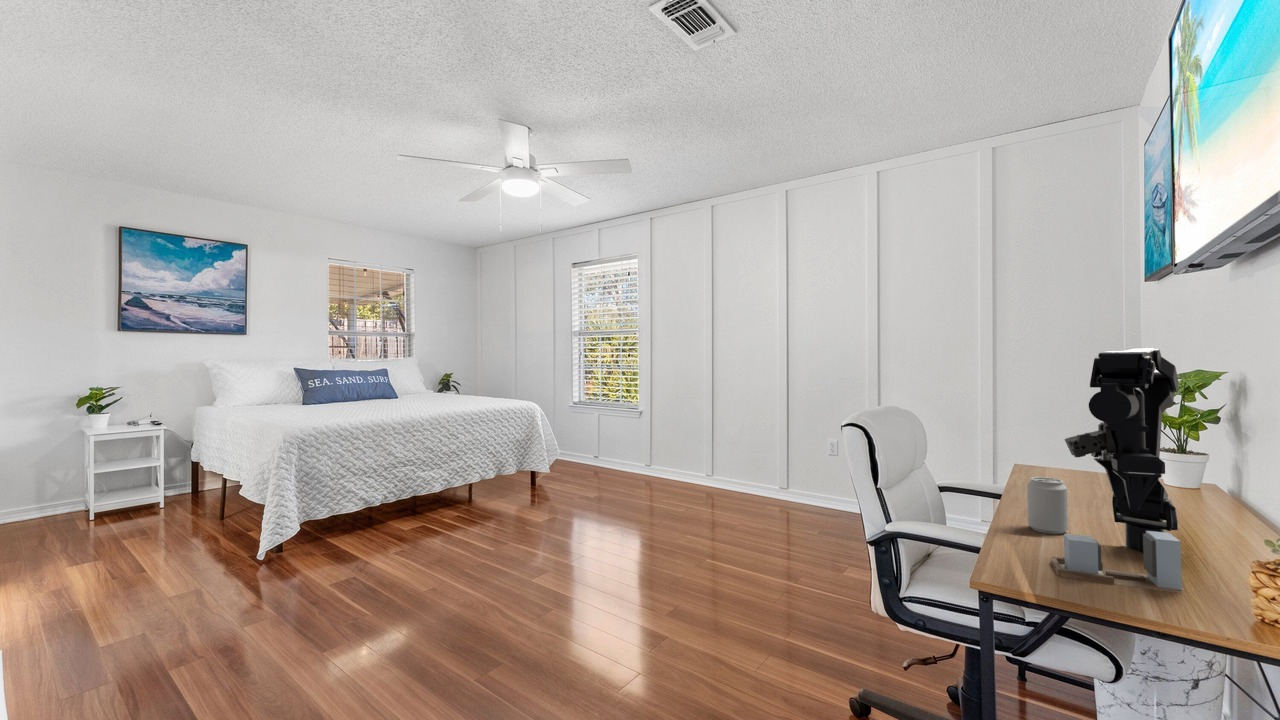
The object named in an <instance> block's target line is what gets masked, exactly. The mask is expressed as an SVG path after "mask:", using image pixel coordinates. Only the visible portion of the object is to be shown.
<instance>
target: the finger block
mask: <svg viewBox="0 0 1280 720" xmlns="http://www.w3.org/2000/svg"><path fill="white" fill-rule="evenodd" d="M1063 541H1064V542H1063V544H1064V545H1063V548H1064V558H1065V567H1066V569H1067V570H1068V571H1075V572H1083V573H1091V574H1098V571H1102V567H1101V563H1102V545H1101V544H1100V543H1099V542H1098V540H1096V539H1095V538H1093V536H1090V535H1083V534H1081V535H1080V534H1071V533H1063ZM1098 575H1099V574H1098Z"/></svg>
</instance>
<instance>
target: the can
mask: <svg viewBox="0 0 1280 720" xmlns="http://www.w3.org/2000/svg"><path fill="white" fill-rule="evenodd" d="M1029 479H1030V481H1028V482H1027V484H1026V492H1027V493H1026V494H1027V495H1026V496H1027V497H1026V498H1027V499H1026V500H1027V502H1026V503H1027V524H1028V526H1029V527H1030V528H1031V529H1032V530H1034V531H1036V532H1039V533H1043V534H1049V535H1064V534H1065V532H1067V531H1068V530H1069V511H1068V510H1069V509H1068V507H1069V504H1068V503H1069V502H1068V487H1067V486H1066V485H1065V484H1063V483H1064V482H1065V481H1064V480H1063V479H1060V478H1054V477H1049V476H1048V477H1046V476H1032V477H1030V478H1029Z"/></svg>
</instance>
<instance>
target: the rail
mask: <svg viewBox="0 0 1280 720" xmlns="http://www.w3.org/2000/svg"><path fill="white" fill-rule="evenodd" d="M1049 563H1050V565H1051V566H1052V568H1053V570H1054V571H1055V573H1056V575H1057V576H1058V577H1059V578H1065V579H1066V578H1067V579H1073V580H1081V581H1087V582H1094V583H1095V582H1096V583H1103V584H1110V585H1118V586H1123V587H1131V588H1132V587H1133V588H1139V589H1147V590H1154V591H1161V592H1169V593H1175V594H1182V592H1181V590H1176V589H1169V588H1161V587H1157V586H1156V585H1155V584H1154V583H1153V582H1152V581H1151V580H1150V579H1149V578H1148V577H1147V573H1142V572H1136V571H1128V570H1127V571H1126V570H1119V569H1112V568H1103V565H1104V564H1103V563H1102V562H1101V567H1102V571H1098V574H1099V575H1098V574H1091V573H1083V572H1075V571H1068V570H1067V569H1066V567H1065V557H1057V556H1052V557H1050V561H1049Z"/></svg>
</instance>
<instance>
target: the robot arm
mask: <svg viewBox="0 0 1280 720" xmlns="http://www.w3.org/2000/svg"><path fill="white" fill-rule="evenodd" d="M1089 387H1090V388H1099V389H1100V391H1098V392H1096V393H1095V394H1093V395H1092V396H1091V397H1090V399H1089V401H1088V410H1089V412H1090V413H1091V415H1092V416H1093V417H1094V418H1095V419H1097V420H1098V421H1101V422H1099V424H1098V429H1097V430H1095V431H1091V432H1084V433H1081V434H1077V435H1073V436H1071V437H1066V438H1064V442H1065V443H1066V446H1067V447H1068V450H1069V452H1070V455H1071V456H1073V457H1075V458H1082V457H1085V456H1086V455H1091V457H1094V458H1093V460H1094V461H1095V462H1096V463H1098V464H1099V465H1100V466H1101V467H1103V468H1104V470H1105V472H1106V476H1107V479H1108V482H1109V485H1110V488H1111V491H1112V497H1111V498H1112V500H1111V503H1112V504H1111V505H1112V511H1113V520H1114V523H1117V524H1118V523H1120V524H1121V523H1122V524H1125V525H1124V527H1125V545H1119V548H1127V549H1130V550H1134V551H1137V552H1139V553H1141V554H1143V534H1146V531H1155V532H1165V531H1166V532H1167V531H1168V532H1172V531H1179V520H1178V515H1177V508H1176V507H1175V506H1174V505H1173V503H1172V500H1171V499H1169V494H1168V492H1167V490H1166V489H1165V487H1164V486H1163V484H1162V482H1161V481H1160V480H1159V479H1160V478H1162V476H1163V475H1166V462H1164V460H1162V459H1161V458H1160V455H1161V454H1160V453H1161V438H1162V437H1161V436H1162V423H1163V422H1162V419H1163V413H1164V412H1165V411H1166V410H1168V408H1169V407H1170V406H1171V405H1173V403H1174V399H1175V393H1178V392H1179V376H1178V373H1177V367H1176V365H1174V364H1173V363H1172V362H1170V361H1169V360H1167V359H1165V358H1164V357H1162V353H1161V350H1160V348H1157V349H1156V347H1145V348H1143V347H1141V348H1136V347H1135V348H1130V349H1126V350H1110V351H1108V350H1107V351H1104V350H1103V351H1102V350H1101V351H1100V352H1099V353H1098V356H1096V357H1094V359H1093V365H1092V369H1091V377H1090V381H1089Z"/></svg>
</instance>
